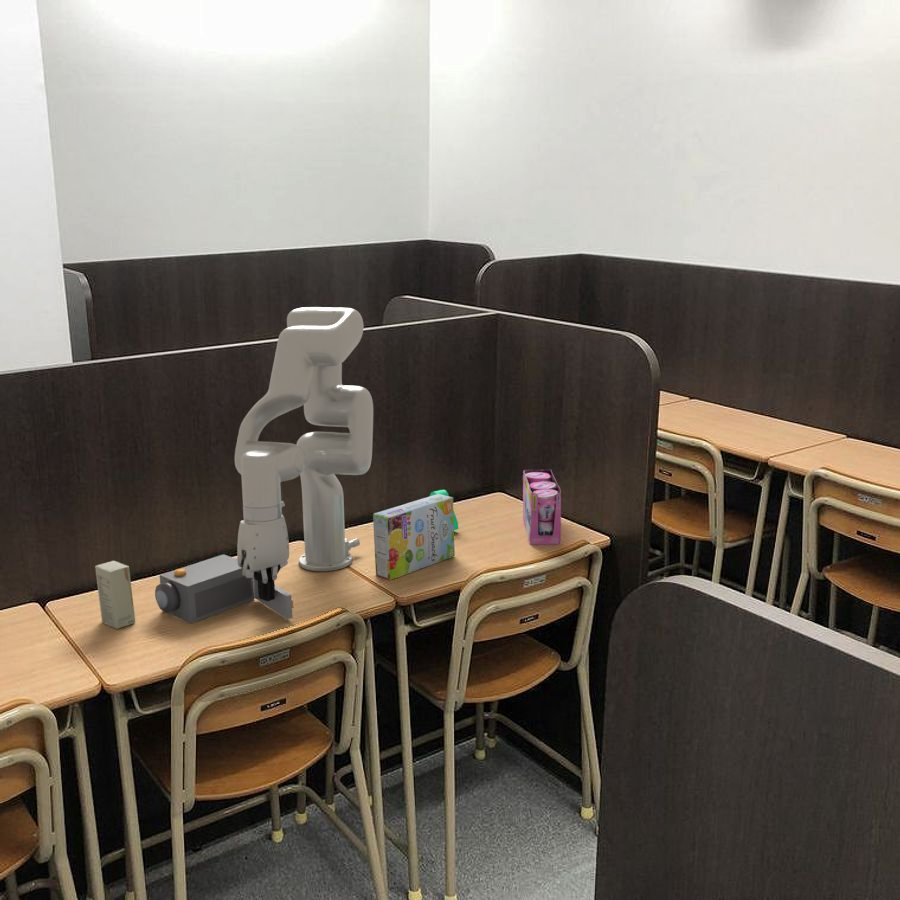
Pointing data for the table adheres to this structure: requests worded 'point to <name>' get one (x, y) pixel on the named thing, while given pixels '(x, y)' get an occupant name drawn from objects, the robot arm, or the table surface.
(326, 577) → the table surface
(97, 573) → the skincare box
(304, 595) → the table surface
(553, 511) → the gum box
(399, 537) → the snack box
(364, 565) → the table surface
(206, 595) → the camera body
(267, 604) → the side door
